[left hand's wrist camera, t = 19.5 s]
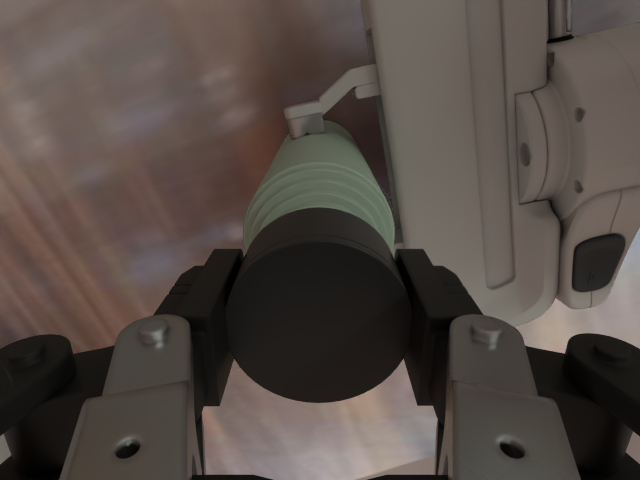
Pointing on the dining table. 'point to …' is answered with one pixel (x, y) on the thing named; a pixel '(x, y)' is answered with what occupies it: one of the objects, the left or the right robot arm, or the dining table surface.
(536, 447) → the left robot arm
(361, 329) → the cap
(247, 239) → the bottle
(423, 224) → the right robot arm
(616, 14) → the dining table surface
